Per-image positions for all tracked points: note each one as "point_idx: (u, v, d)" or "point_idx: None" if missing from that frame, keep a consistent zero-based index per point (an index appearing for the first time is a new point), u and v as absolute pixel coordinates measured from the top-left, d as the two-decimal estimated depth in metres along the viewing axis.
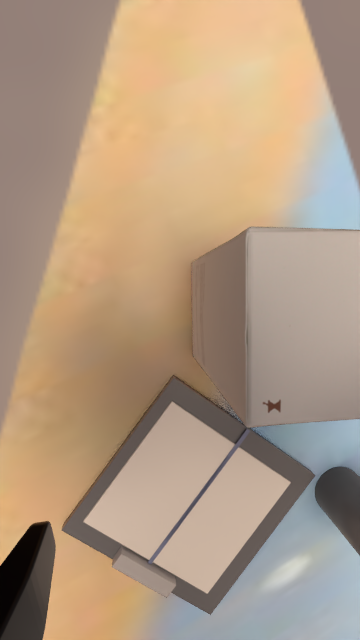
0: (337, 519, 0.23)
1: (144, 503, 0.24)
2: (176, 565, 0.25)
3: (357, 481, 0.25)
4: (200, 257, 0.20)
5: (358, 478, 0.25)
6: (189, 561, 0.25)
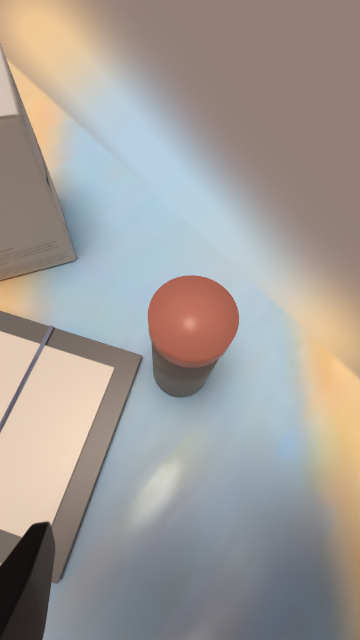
0: (154, 369, 0.21)
1: None
2: None
3: None
4: None
5: None
6: (10, 500, 0.19)
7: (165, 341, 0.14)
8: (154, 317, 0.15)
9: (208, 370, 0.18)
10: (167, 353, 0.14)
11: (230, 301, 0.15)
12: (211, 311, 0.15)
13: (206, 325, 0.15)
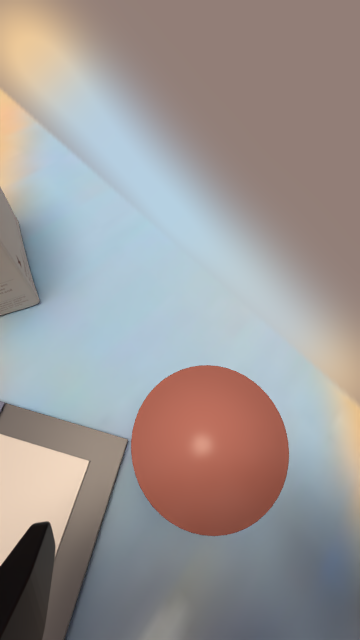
0: None
1: None
2: None
3: None
4: None
5: None
6: None
7: (163, 500, 0.08)
8: (142, 451, 0.08)
9: None
10: None
11: (271, 411, 0.09)
12: (240, 433, 0.09)
13: (234, 462, 0.08)
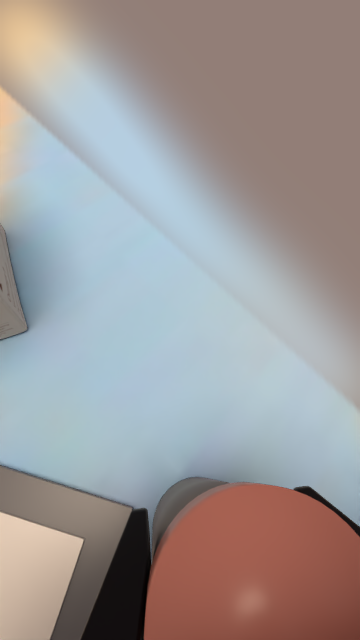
0: None
1: None
2: None
3: (190, 480, 0.13)
4: None
5: None
6: None
7: None
8: None
9: None
10: None
11: None
12: (324, 614, 0.05)
13: None
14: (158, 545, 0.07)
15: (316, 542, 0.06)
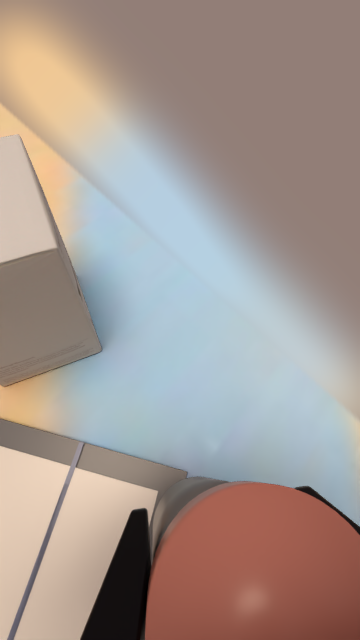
0: None
1: None
2: None
3: (190, 479, 0.13)
4: None
5: (200, 477, 0.14)
6: None
7: None
8: None
9: None
10: None
11: None
12: (325, 612, 0.05)
13: None
14: (159, 544, 0.07)
15: (316, 540, 0.06)
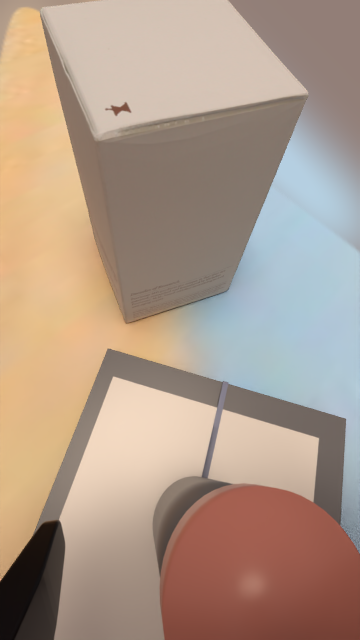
0: None
1: (116, 550, 0.15)
2: None
3: (188, 479, 0.14)
4: None
5: (197, 477, 0.15)
6: None
7: None
8: (180, 631, 0.06)
9: None
10: None
11: (352, 559, 0.07)
12: (314, 595, 0.06)
13: None
14: (169, 539, 0.08)
15: (308, 535, 0.07)
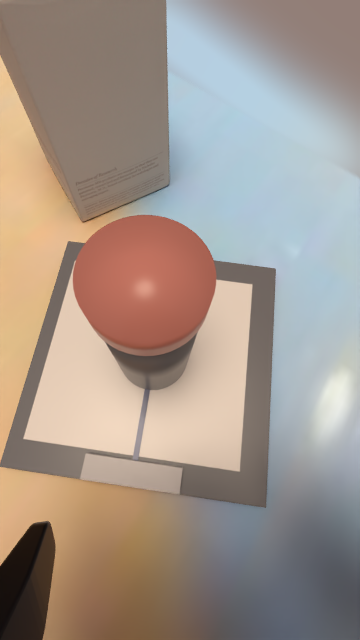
0: None
1: (92, 381, 0.18)
2: (174, 447, 0.17)
3: None
4: None
5: None
6: (188, 433, 0.17)
7: (105, 321, 0.09)
8: (83, 286, 0.09)
9: (184, 353, 0.13)
10: (112, 340, 0.09)
11: (199, 246, 0.10)
12: (172, 265, 0.10)
13: (167, 287, 0.09)
14: None
15: (169, 237, 0.10)
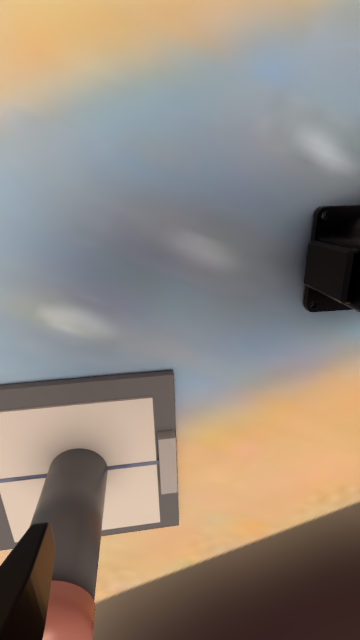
0: None
1: (111, 500, 0.24)
2: (145, 441, 0.23)
3: None
4: None
5: None
6: (133, 435, 0.22)
7: None
8: None
9: (79, 537, 0.16)
10: None
11: None
12: None
13: None
14: None
15: None
